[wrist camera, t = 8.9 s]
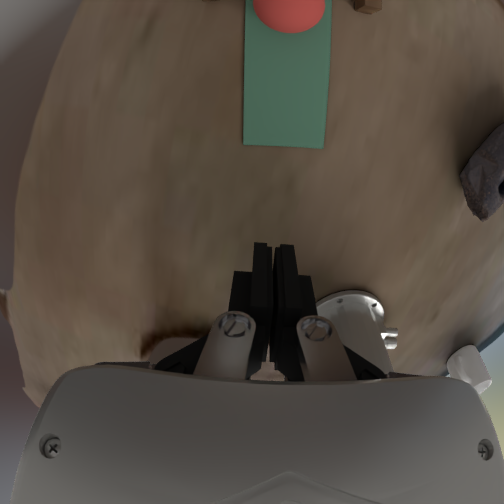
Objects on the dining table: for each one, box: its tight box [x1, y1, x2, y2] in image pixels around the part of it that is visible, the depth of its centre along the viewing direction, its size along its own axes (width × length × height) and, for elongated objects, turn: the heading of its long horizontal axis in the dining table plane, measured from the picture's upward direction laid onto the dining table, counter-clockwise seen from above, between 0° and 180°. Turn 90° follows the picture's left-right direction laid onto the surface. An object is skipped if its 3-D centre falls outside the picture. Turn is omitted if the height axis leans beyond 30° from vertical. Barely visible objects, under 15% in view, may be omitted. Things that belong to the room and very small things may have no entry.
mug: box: [447, 345, 492, 394], centre depth 45 cm, size 12×8×10 cm
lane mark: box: [243, 0, 332, 149], centre depth 19 cm, size 30×8×1 cm, turn 179°
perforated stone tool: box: [460, 123, 504, 222], centre depth 23 cm, size 15×5×7 cm, turn 145°
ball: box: [253, 0, 325, 33], centre depth 17 cm, size 6×6×6 cm
